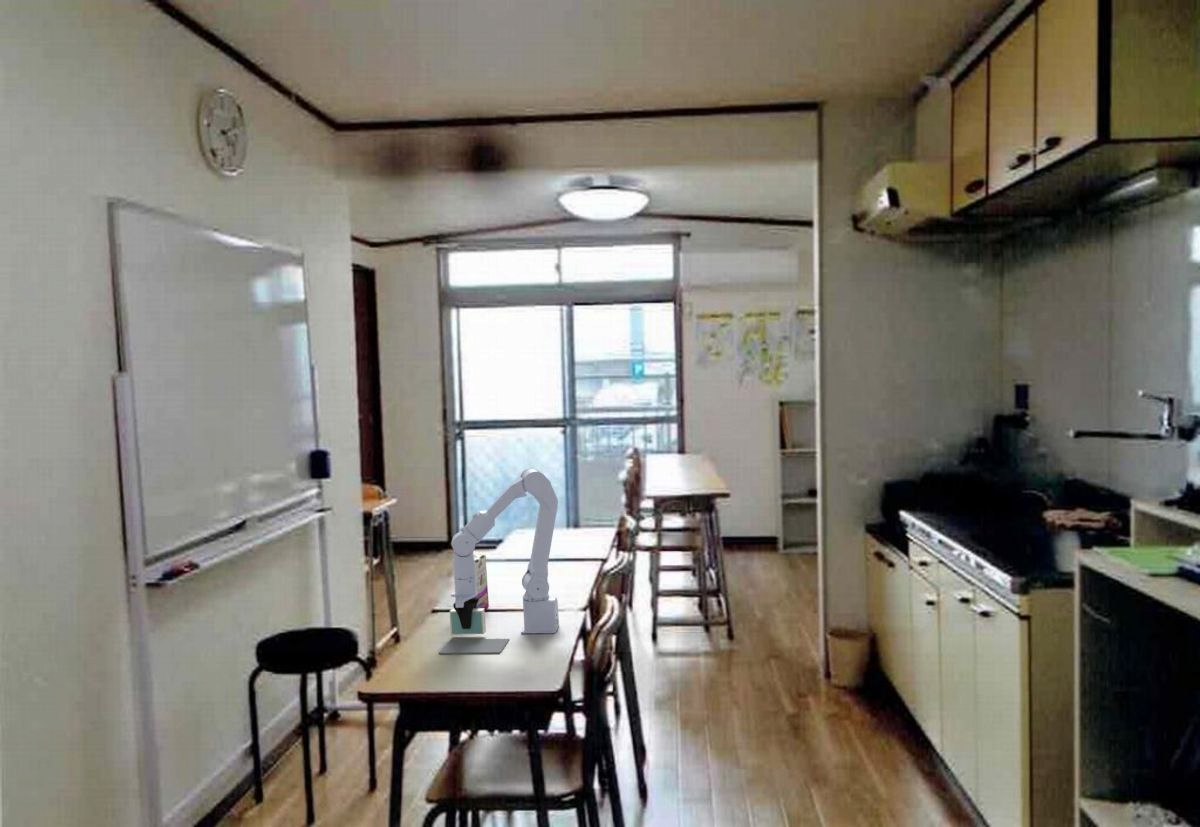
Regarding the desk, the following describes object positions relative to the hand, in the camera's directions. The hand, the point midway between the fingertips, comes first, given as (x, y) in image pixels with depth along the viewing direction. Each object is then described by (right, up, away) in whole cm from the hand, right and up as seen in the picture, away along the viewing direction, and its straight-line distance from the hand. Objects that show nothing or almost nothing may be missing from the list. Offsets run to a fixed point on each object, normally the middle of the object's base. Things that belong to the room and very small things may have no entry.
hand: (467, 626), depth 238 cm
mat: (+3, -3, -9) cm, 10 cm away
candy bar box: (-1, -2, +24) cm, 25 cm away
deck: (0, -2, 0) cm, 2 cm away
